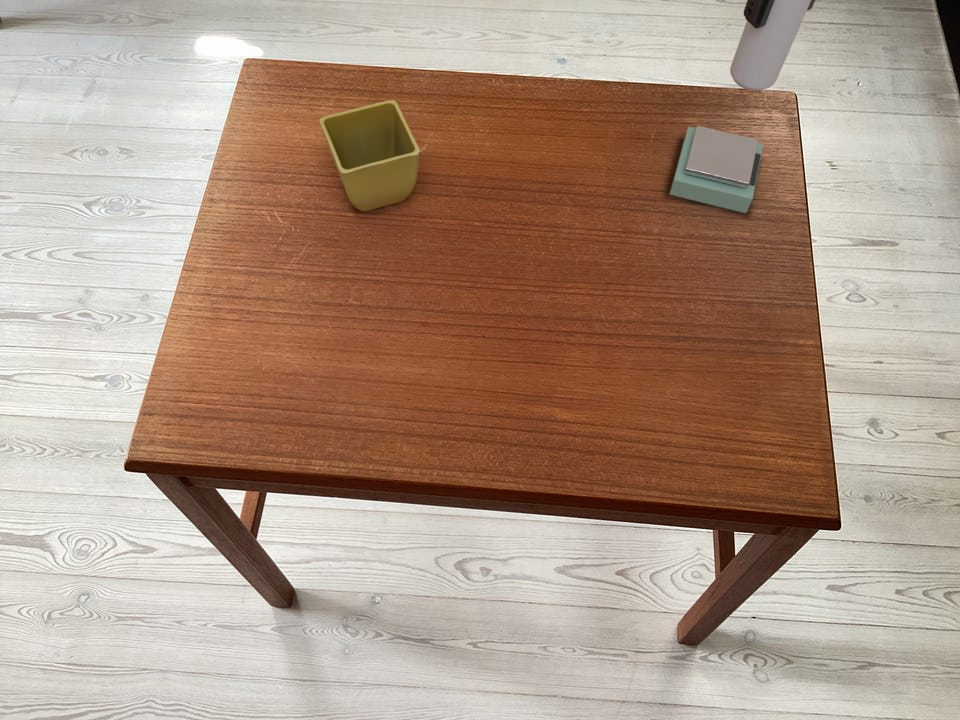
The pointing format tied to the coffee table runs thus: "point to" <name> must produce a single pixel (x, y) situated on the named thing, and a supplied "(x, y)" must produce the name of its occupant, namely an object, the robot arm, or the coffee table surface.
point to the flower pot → (373, 154)
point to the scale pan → (721, 156)
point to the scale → (712, 183)
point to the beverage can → (767, 45)
